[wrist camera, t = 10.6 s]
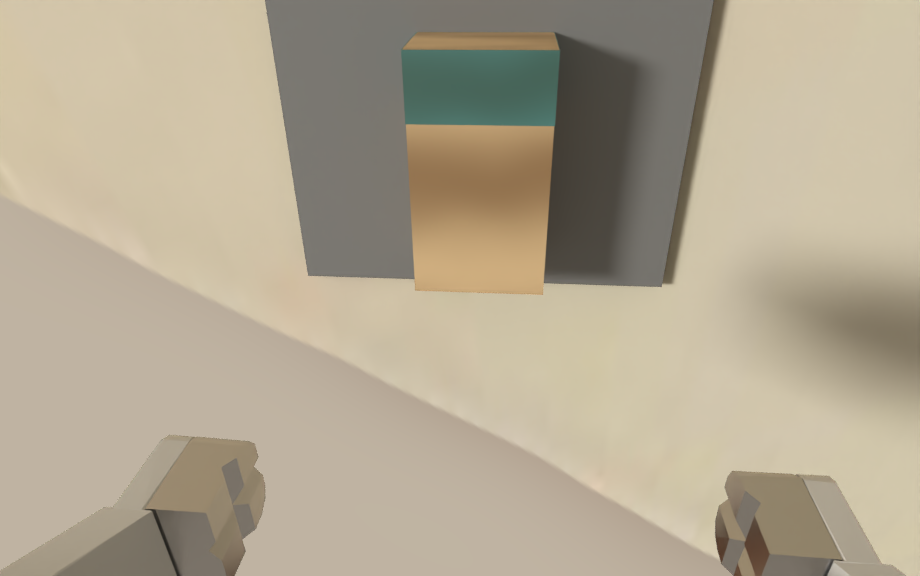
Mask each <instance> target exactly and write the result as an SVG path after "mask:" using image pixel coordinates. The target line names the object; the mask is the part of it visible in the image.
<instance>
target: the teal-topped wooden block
mask: <svg viewBox="0 0 920 576" xmlns="http://www.w3.org/2000/svg"><path fill="white" fill-rule="evenodd" d="M401 59H402V76H403V94H404V112H405V124H406V135H407V153H408V170H409V188H410V206H411V224H412V241H413V259H414V277H415V290H417V291H447V292H477V293H507V294H537V295H543V285H544V270H545V256H546V241H547V226H548V211H549V197H550V182H551V167H552V153H553V138H554V126H555V118H556V104H557V89H558V75H559V60H560V48H559V45H558V42H557V38H556V35H555V32H416V33H415V34H414V36H413V37H412V38H411V39H410V40H409V41H408V42H407V43H406V45H405V46H404V47H403V48H402V49H401Z"/></svg>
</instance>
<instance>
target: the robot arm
mask: <svg viewBox="0 0 920 576" xmlns="http://www.w3.org/2000/svg"><path fill="white" fill-rule="evenodd" d="M257 459H258V454H257V450H256V447H255V444H254V443H252V442H249V441H240V440H228V439H217V438H205V437H188V436H177V435H168V436H167V437H165V438H164V439H162V440H161V441H160V442H159V444H158V445H157V446H156V448H155V449H154V451H153V452H152V453H151V455H150V456H149V458H148V459H147V461H146V462H145V463H144V464H143V466H142V467H141V469H140V470H139V472H138V473H137V474H136V476H135V477H134V478H133V480H132V481H131V483H130V484H129V485H128V487H127V488H126V490H125V491H124V493H123V494H122V495H121V497H120V498H119V499H118V501H117V503H116V504H115V505H114V506H113V508H112V507H104V508H102V509H100V510H99V511H97V512H96V513H94V514H92V515H91V516H89V517H87V518H86V519H84V520H82V521H81V522H79V523H78V524H76V525H74V526H73V527H71V528H69V529H68V530H66V531H64V532H63V533H61V534H60V535H58V536H56V537H55V538H53V539H52V540H50V541H48V542H46V543H45V544H43V545H42V546H40V547H38V548H37V549H35V550H33V551H32V552H30V553H28V554H27V555H25V556H23V557H22V558H21V559H19V560H17V561H15V562H14V563H12V564H10V565H9V566H7V567H6V568H4V569H2V570H1V571H0V576H235V574H236V571H237V569H238V567H239V565H240V562H241V560H242V558H243V556H244V554H245V547H244V544H243V540H242V539H243V538H245V537H246V536H247V535H248V534H250V533H251V532H252V531H254V530H255V529H256V527H257V524H258V522H259V520H260V518H261V515H262V511H263V507H264V502H265V482H264V478H263V475H262V474H261V473H260V472H259V471H258V470H257V469H256V468H255V467H254V465H255V463H256V461H257ZM725 490H726V493H727V496H728V500H726V501H725V502H724V503H722V504H721V505H719V508H718V512H717V516H716V520H715V538H716V544H717V550H718V554H719V557H720V560H721V564H722V565H723V566H724V567H725V568H726V569H727V570H728V571H729V572H730V573H731V574H732V575H733V576H906V575H905V574H903V573H902V572H901V571H899V570H898V569H897V568H896V567H894V566H893V565H887V564H882V563H881V561H880V560H879V558H878V556H877V554H876V552H875V551H874V549H873V547H872V545H871V544H870V542H869V540H868V538H867V536H866V535H865V533H864V531H863V529H862V528H861V526H860V524H859V522H858V521H857V519H856V517H855V515H854V513H853V512H852V510H851V508H850V506H849V505H848V503H847V501H846V499H845V497H844V496H843V494H842V492H841V490H840V489H839V487H838V485H837V483H836V481H834V480H833V479H832V478H831V477H830V476H818V475H800V474H796V475H793V474H782V473H763V472H744V471H732V472H731V473H730V474H729V476H728V478H727V481H726V484H725Z"/></svg>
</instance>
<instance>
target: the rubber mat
mask: <svg viewBox="0 0 920 576" xmlns="http://www.w3.org/2000/svg"><path fill="white" fill-rule="evenodd" d="M713 2H714V0H265V3H266V9H267V16H268V22H269V29H270V35H271V41H272V48H273V54H274V60H275V67H276V73H277V80H278V86H279V92H280V99H281V105H282V111H283V118H284V124H285V131H286V137H287V143H288V150H289V156H290V162H291V169H292V175H293V182H294V188H295V194H296V201H297V207H298V214H299V220H300V226H301V233H302V239H303V245H304V252H305V258H306V265H307V271H308V276H336V277H367V278H398V279H415V277H414V259H413V241H412V224H411V206H410V188H409V170H408V153H407V135H406V124H405V112H404V94H403V76H402V59H401V49H402V48H403V47H404V46H405V45H406V43H407V42H408V41H409V40H410V39H411V38H412V37H413V36H414V34H415V33H416V32H555V35H556V38H557V42H558V45H559V48H560V60H559V75H558V89H557V104H556V118H555V126H554V138H553V153H552V167H551V182H550V197H549V211H548V226H547V241H546V256H545V270H544V283H554V284H586V285H617V286H648V287H662V282H663V277H664V271H665V266H666V260H667V255H668V249H669V244H670V238H671V233H672V227H673V222H674V216H675V211H676V205H677V200H678V194H679V189H680V183H681V178H682V172H683V167H684V161H685V156H686V150H687V145H688V139H689V134H690V128H691V123H692V117H693V112H694V106H695V101H696V95H697V90H698V84H699V79H700V73H701V68H702V62H703V57H704V51H705V46H706V40H707V35H708V29H709V24H710V18H711V13H712V7H713Z"/></svg>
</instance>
